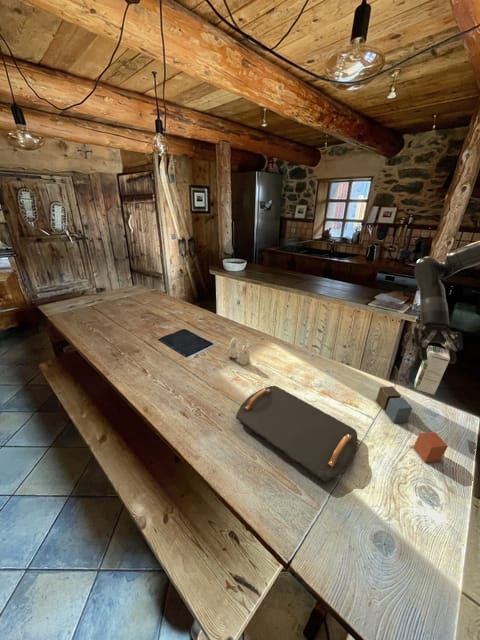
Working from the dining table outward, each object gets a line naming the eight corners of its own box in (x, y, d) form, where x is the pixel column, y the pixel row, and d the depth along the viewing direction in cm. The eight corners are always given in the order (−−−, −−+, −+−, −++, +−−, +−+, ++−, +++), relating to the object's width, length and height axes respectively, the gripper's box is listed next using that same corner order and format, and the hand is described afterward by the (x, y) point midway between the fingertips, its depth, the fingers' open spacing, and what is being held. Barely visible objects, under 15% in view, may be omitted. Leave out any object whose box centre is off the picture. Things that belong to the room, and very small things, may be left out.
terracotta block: (428, 446, 83) (434, 431, 81) (440, 461, 79) (448, 446, 76) (413, 447, 83) (419, 433, 80) (424, 462, 78) (431, 447, 76)
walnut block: (388, 399, 102) (392, 386, 99) (396, 409, 98) (401, 395, 95) (375, 400, 102) (380, 387, 99) (383, 410, 97) (388, 396, 94)
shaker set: (225, 357, 127) (224, 337, 122) (230, 353, 130) (230, 333, 125) (245, 366, 120) (245, 345, 115) (250, 362, 123) (251, 342, 118)
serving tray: (365, 441, 85) (369, 427, 82) (333, 496, 69) (337, 481, 67) (267, 386, 108) (268, 374, 105) (228, 418, 92) (227, 405, 90)
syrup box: (414, 379, 93) (427, 344, 87) (434, 385, 90) (449, 349, 84) (414, 389, 89) (427, 352, 82) (435, 395, 86) (451, 358, 80)
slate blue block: (398, 411, 97) (403, 397, 94) (407, 421, 92) (412, 407, 90) (385, 412, 96) (389, 398, 94) (393, 422, 92) (398, 408, 89)
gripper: (415, 306, 86) (419, 356, 81) (465, 310, 83) (472, 362, 78) (405, 314, 93) (407, 361, 88) (451, 318, 91) (456, 366, 85)
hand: (438, 361), depth 83 cm, fingers closed on syrup box, 7 cm apart
